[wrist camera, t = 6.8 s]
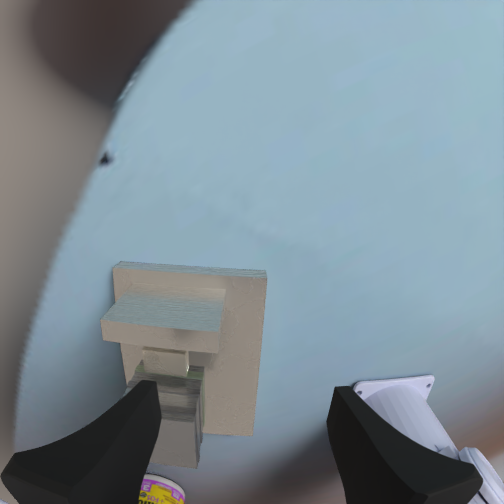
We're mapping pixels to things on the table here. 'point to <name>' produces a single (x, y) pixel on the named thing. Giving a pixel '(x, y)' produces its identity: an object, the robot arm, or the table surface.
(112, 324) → the stand frame
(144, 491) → the supplement bottle
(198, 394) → the grey stacked block
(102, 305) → the table surface
